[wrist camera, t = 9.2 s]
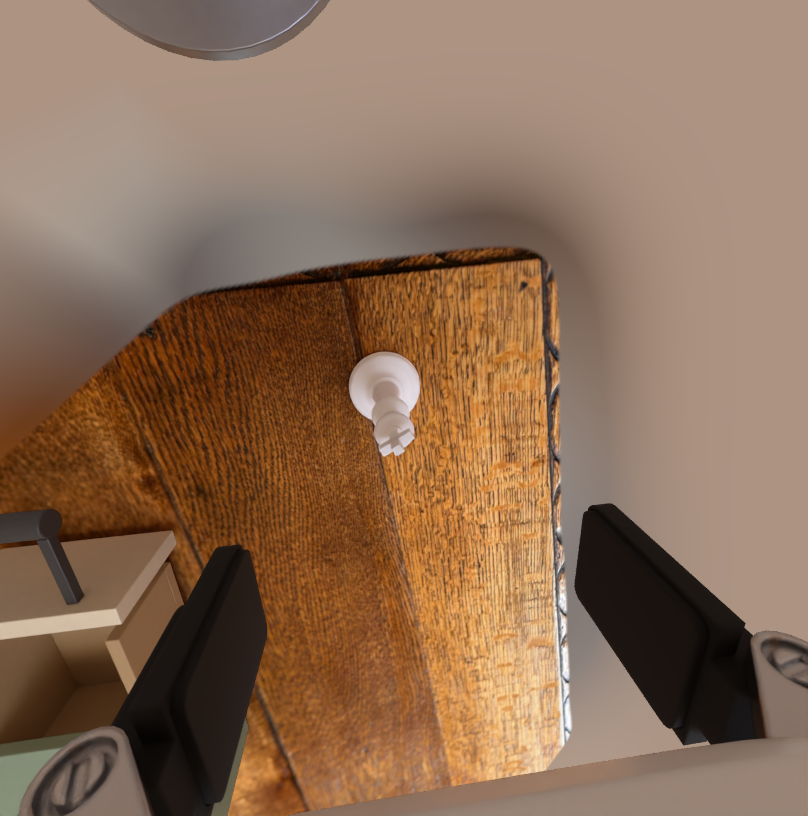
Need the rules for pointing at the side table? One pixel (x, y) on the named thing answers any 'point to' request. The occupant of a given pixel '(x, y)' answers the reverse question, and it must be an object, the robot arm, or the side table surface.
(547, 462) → the side table surface
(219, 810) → the cabinet
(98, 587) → the drawer
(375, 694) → the side table surface
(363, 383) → the chess piece
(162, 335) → the side table surface
